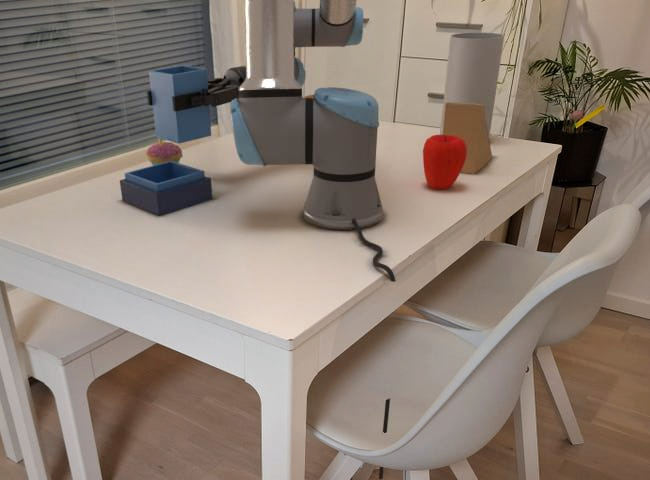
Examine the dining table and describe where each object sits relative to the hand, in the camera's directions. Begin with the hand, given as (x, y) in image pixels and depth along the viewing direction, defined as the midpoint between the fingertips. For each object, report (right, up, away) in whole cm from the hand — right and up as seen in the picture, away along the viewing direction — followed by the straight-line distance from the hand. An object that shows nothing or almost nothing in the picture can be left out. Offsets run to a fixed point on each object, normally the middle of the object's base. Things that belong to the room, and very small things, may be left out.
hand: (161, 101), depth 134 cm
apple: (+59, -14, +12) cm, 62 cm away
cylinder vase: (+74, +6, +43) cm, 85 cm away
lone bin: (+4, -5, +7) cm, 9 cm away
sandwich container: (+69, -5, +25) cm, 74 cm away
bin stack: (0, -17, +10) cm, 20 cm away
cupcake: (-3, -7, +27) cm, 28 cm away
